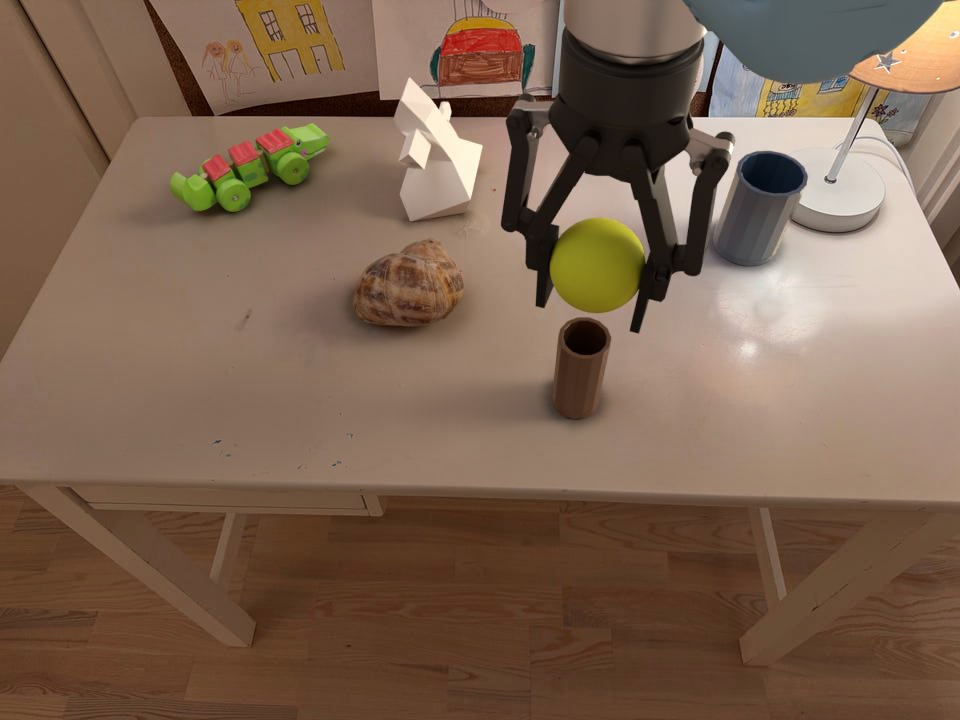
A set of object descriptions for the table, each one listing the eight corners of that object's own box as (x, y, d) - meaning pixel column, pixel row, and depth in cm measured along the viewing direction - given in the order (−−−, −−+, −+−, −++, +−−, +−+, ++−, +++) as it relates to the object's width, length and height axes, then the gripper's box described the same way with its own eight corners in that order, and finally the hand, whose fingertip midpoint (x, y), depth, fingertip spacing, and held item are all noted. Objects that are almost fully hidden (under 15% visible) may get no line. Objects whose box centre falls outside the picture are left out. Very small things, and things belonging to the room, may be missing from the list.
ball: (655, 314, 53) (672, 249, 48) (572, 344, 52) (578, 281, 46) (612, 253, 57) (622, 186, 51) (533, 279, 56) (535, 213, 50)
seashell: (415, 243, 79) (439, 211, 69) (460, 310, 79) (490, 287, 70) (337, 290, 75) (350, 262, 66) (384, 360, 75) (404, 342, 66)
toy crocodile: (316, 138, 91) (305, 97, 86) (342, 164, 88) (332, 123, 83) (174, 202, 85) (153, 162, 80) (196, 233, 82) (176, 193, 77)
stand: (607, 408, 67) (621, 347, 59) (565, 426, 66) (574, 366, 58) (584, 374, 69) (595, 310, 61) (543, 390, 68) (549, 327, 60)
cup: (789, 253, 77) (822, 183, 69) (737, 274, 76) (765, 204, 68) (750, 214, 81) (778, 143, 73) (700, 233, 80) (723, 162, 71)
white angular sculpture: (486, 155, 88) (483, 53, 77) (468, 233, 81) (463, 134, 69) (420, 150, 89) (408, 49, 78) (397, 227, 81) (380, 128, 70)
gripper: (837, 21, 37) (725, 304, 55) (482, -33, 41) (490, 245, 60) (824, 103, 33) (708, 379, 51) (433, 33, 37) (457, 309, 56)
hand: (590, 307), depth 56 cm, fingers closed on ball, 7 cm apart
